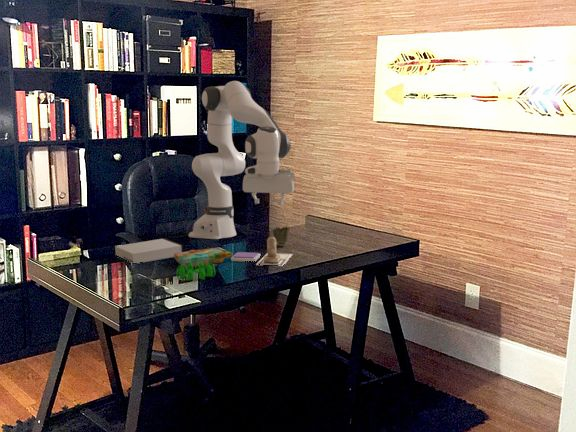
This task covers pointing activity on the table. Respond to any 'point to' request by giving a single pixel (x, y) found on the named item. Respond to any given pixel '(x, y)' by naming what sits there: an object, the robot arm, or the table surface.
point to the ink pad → (245, 256)
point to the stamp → (271, 252)
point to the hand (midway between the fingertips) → (268, 203)
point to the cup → (281, 235)
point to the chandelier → (190, 270)
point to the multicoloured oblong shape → (202, 256)
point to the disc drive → (148, 250)
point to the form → (283, 260)
